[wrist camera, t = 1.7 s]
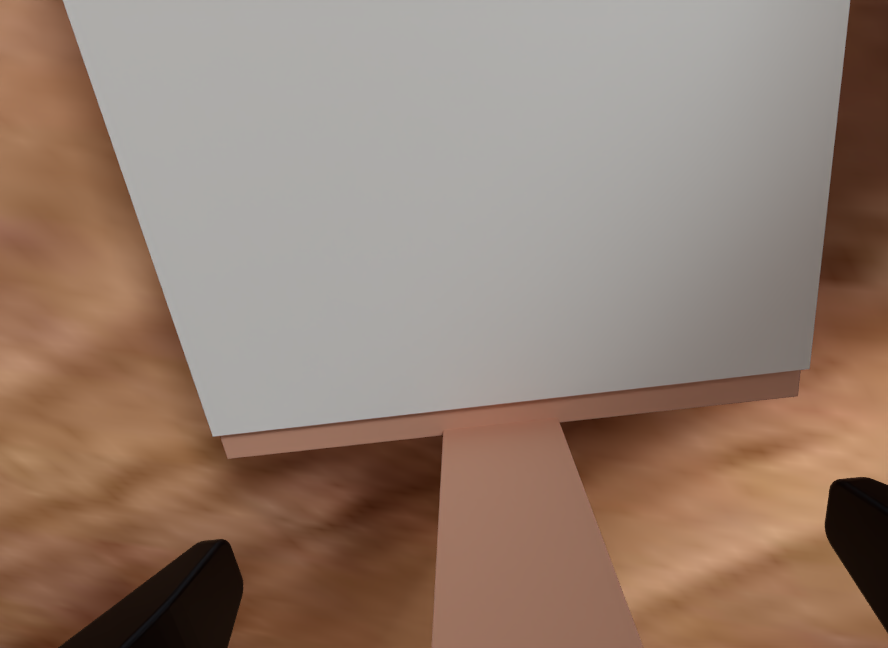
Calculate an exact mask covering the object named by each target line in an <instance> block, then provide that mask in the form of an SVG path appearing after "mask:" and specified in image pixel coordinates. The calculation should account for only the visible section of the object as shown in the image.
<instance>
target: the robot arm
mask: <svg viewBox="0 0 888 648" xmlns="http://www.w3.org/2000/svg"><path fill="white" fill-rule="evenodd" d="M825 532H826V535H827V538H828V540H829V542H830V544H831V546H832V548H833V549H834V551H835V552H836V554H837V555H838V557H839V558H840V560H841V562H842V563H843V565H844V566H845V568H846V569H847V571H848V572H849V574H850V575H851V577H852V579H853V580H854V582H855V583H856V585H857V586H858V588H859V589H860V591H861V593H862V594H863V596H864V597H865V599H866V600H867V602H868V603H869V605H870V606H871V608H872V610H873V611H874V613H875V614H876V616H877V617H878V619H879V620H880V622H881V623H882V625H883V627H884V628H885V630H886V631H887V633H888V485H886V484H884V483H881V482H879V481H876V480H874V479H871V478H867V477H856V478H846V479H838V480H836V481H834V482H833V483H832V484H831V486H830V489H829V497H828V504H827V511H826V518H825ZM242 594H243V579H242V575H241V573H240V570H239V567H238V564H237V562H236V559H235V556H234V553H233V551H232V548H231V545H230V543H229V542H228V541H226V540H224V539H217V540H207V541H201V542H198V543H197V544H195V545H194V546H192V547H191V548H190V549H188V550H187V551H186V552H185V553H183V554H182V555H181V556H179V557H178V558H177V559H175V560H174V561H173V562H171V563H170V564H169V565H167V566H166V567H165V568H163V569H162V570H161V571H159V572H158V573H157V574H155V575H154V576H153V577H151V578H150V579H149V580H147V581H146V582H145V583H143V584H142V585H141V586H139V587H138V588H137V589H135V590H134V591H133V592H131V593H130V594H129V595H127V596H126V597H125V598H123V599H122V600H121V601H120V602H118V603H117V604H116V605H114V606H113V607H112V608H110V609H109V610H108V611H106V612H105V613H104V614H102V615H101V616H100V617H98V618H97V619H96V620H94V621H93V622H92V623H90V624H89V625H88V626H86V627H85V628H84V629H82V630H81V631H80V632H78V633H77V634H76V635H74V636H73V637H72V638H70V639H69V640H68V641H66V642H65V643H64V644H62V645H61V646H60V647H58V648H228V644H229V641H230V637H231V634H232V630H233V626H234V623H235V619H236V616H237V612H238V609H239V605H240V602H241V598H242Z"/></svg>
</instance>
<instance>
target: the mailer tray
mask: <svg viewBox="0 0 888 648" xmlns="http://www.w3.org/2000/svg"><path fill="white" fill-rule="evenodd" d="M800 371H801V370H795V371H786V372H778V373H769V374H760V375H751V376H742V377H733V378H725V379H716V380H707V381H698V382H689V383H681V384H672V385H663V386H654V387H645V388H637V389H628V390H619V391H610V392H601V393H593V394H584V395H575V396H566V397H557V398H548V399H540V400H531V401H522V402H513V403H504V404H496V405H487V406H478V407H469V408H460V409H452V410H443V411H434V412H425V413H416V414H408V415H399V416H390V417H381V418H372V419H363V420H355V421H346V422H337V423H328V424H319V425H311V426H302V427H293V428H284V429H275V430H267V431H258V432H249V433H240V434H231V435H222V436H220V437H221V440H222V443H223V446H224V449H225V452H226V455H227V458H228V459H231V458H240V457H249V456H258V455H267V454H276V453H285V452H294V451H303V450H313V449H322V448H331V447H340V446H349V445H358V444H367V443H376V442H385V441H395V440H404V439H413V438H422V437H431V436H440V435H443V447H442V466H441V484H440V503H439V521H438V540H437V558H436V577H435V595H434V614H433V632H432V648H643V645H642V642H641V640H640V637H639V634H638V632H637V629H636V626H635V624H634V621H633V618H632V616H631V613H630V610H629V608H628V605H627V602H626V600H625V597H624V594H623V592H622V589H621V586H620V583H619V581H618V578H617V575H616V573H615V570H614V567H613V565H612V562H611V559H610V557H609V554H608V551H607V549H606V546H605V543H604V541H603V538H602V535H601V532H600V530H599V527H598V524H597V522H596V519H595V516H594V514H593V511H592V508H591V506H590V503H589V500H588V498H587V495H586V492H585V490H584V487H583V484H582V482H581V479H580V476H579V473H578V471H577V468H576V465H575V463H574V460H573V457H572V455H571V452H570V449H569V447H568V444H567V441H566V439H565V436H564V433H563V431H562V428H561V425H560V423H559V422H568V421H577V420H586V419H595V418H604V417H613V416H622V415H631V414H641V413H650V412H659V411H668V410H677V409H686V408H695V407H704V406H713V405H723V404H732V403H741V402H750V401H759V400H768V399H777V398H786V397H795V396H798V390H799V380H800Z"/></svg>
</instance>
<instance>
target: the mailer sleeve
mask: <svg viewBox="0 0 888 648" xmlns="http://www.w3.org/2000/svg"><path fill="white" fill-rule="evenodd" d="M63 2H64V5H65V8H66V11H67V14H68V17H69V20H70V23H71V25H72V28H73V31H74V34H75V37H76V40H77V43H78V46H79V49H80V52H81V55H82V57H83V60H84V63H85V66H86V69H87V72H88V75H89V78H90V81H91V84H92V87H93V89H94V92H95V95H96V98H97V101H98V104H99V107H100V110H101V113H102V116H103V118H104V121H105V124H106V127H107V130H108V133H109V136H110V139H111V142H112V145H113V148H114V150H115V153H116V156H117V159H118V162H119V165H120V168H121V171H122V174H123V177H124V180H125V182H126V185H127V188H128V191H129V194H130V197H131V200H132V203H133V206H134V209H135V211H136V214H137V217H138V220H139V223H140V226H141V229H142V232H143V235H144V238H145V241H146V243H147V246H148V249H149V252H150V255H151V258H152V261H153V264H154V267H155V270H156V273H157V275H158V278H159V281H160V284H161V287H162V290H163V293H164V296H165V299H166V302H167V305H168V307H169V310H170V313H171V316H172V319H173V322H174V325H175V328H176V331H177V334H178V336H179V339H180V342H181V345H182V348H183V351H184V354H185V357H186V360H187V363H188V366H189V368H190V371H191V374H192V377H193V380H194V383H195V386H196V389H197V392H198V395H199V398H200V400H201V403H202V406H203V409H204V412H205V415H206V418H207V421H208V424H209V427H210V429H211V432H212V435H213V437H214V436H222V435H231V434H240V433H249V432H258V431H267V430H275V429H284V428H293V427H302V426H311V425H319V424H328V423H337V422H346V421H355V420H363V419H372V418H381V417H390V416H399V415H408V414H416V413H425V412H434V411H443V410H452V409H460V408H469V407H478V406H487V405H496V404H504V403H513V402H522V401H531V400H540V399H548V398H557V397H566V396H575V395H584V394H593V393H601V392H610V391H619V390H628V389H637V388H645V387H654V386H663V385H672V384H681V383H689V382H698V381H707V380H716V379H725V378H733V377H742V376H751V375H760V374H769V373H778V372H786V371H795V370H804V369H809V368H810V359H811V350H812V341H813V332H814V323H815V314H816V305H817V296H818V287H819V278H820V269H821V260H822V251H823V242H824V233H825V224H826V215H827V206H828V197H829V188H830V179H831V170H832V161H833V152H834V143H835V134H836V125H837V116H838V107H839V98H840V89H841V80H842V70H843V61H844V52H845V43H846V34H847V25H848V16H849V7H850V0H63Z"/></svg>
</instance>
